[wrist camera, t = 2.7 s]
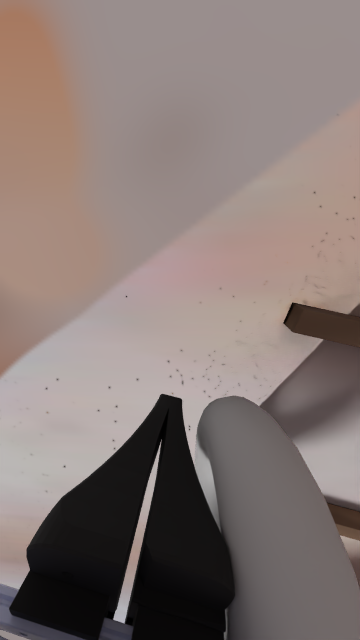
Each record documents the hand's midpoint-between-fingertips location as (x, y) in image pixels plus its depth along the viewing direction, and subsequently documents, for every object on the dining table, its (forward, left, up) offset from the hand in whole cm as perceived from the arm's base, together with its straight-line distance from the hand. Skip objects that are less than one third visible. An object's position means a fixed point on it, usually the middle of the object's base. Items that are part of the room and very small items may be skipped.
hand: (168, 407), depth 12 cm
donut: (-1, -3, -1) cm, 4 cm away
